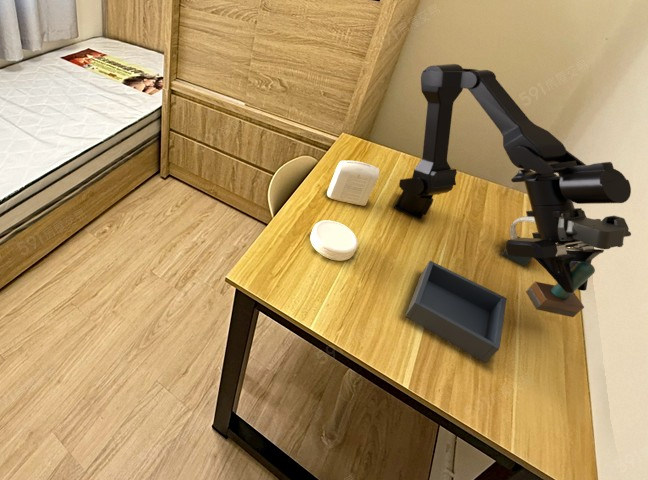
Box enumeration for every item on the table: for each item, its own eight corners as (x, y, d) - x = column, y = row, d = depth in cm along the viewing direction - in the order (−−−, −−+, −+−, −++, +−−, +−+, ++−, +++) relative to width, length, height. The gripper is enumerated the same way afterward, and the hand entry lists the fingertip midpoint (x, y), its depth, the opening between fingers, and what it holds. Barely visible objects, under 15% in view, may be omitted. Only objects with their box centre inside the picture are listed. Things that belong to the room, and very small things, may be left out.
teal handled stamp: (536, 309, 76) (576, 269, 69) (525, 291, 79) (562, 251, 72) (573, 317, 75) (617, 277, 68) (561, 298, 78) (601, 258, 71)
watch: (535, 271, 91) (564, 239, 85) (493, 250, 96) (517, 218, 90) (539, 258, 95) (568, 226, 88) (498, 238, 99) (522, 206, 93)
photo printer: (365, 197, 111) (381, 162, 104) (367, 208, 107) (383, 172, 100) (326, 189, 113) (338, 154, 106) (326, 199, 110) (340, 164, 103)
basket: (404, 317, 81) (414, 302, 78) (420, 275, 90) (429, 260, 87) (484, 364, 74) (499, 349, 71) (493, 313, 83) (507, 298, 80)
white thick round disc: (305, 227, 101) (308, 217, 99) (345, 230, 101) (350, 220, 99) (315, 259, 93) (319, 249, 91) (359, 263, 92) (364, 253, 90)
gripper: (560, 210, 66) (588, 310, 63) (648, 197, 69) (679, 292, 66) (493, 210, 76) (515, 295, 74) (572, 199, 80) (596, 280, 77)
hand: (575, 291), depth 72 cm, fingers closed on teal handled stamp, 2 cm apart
